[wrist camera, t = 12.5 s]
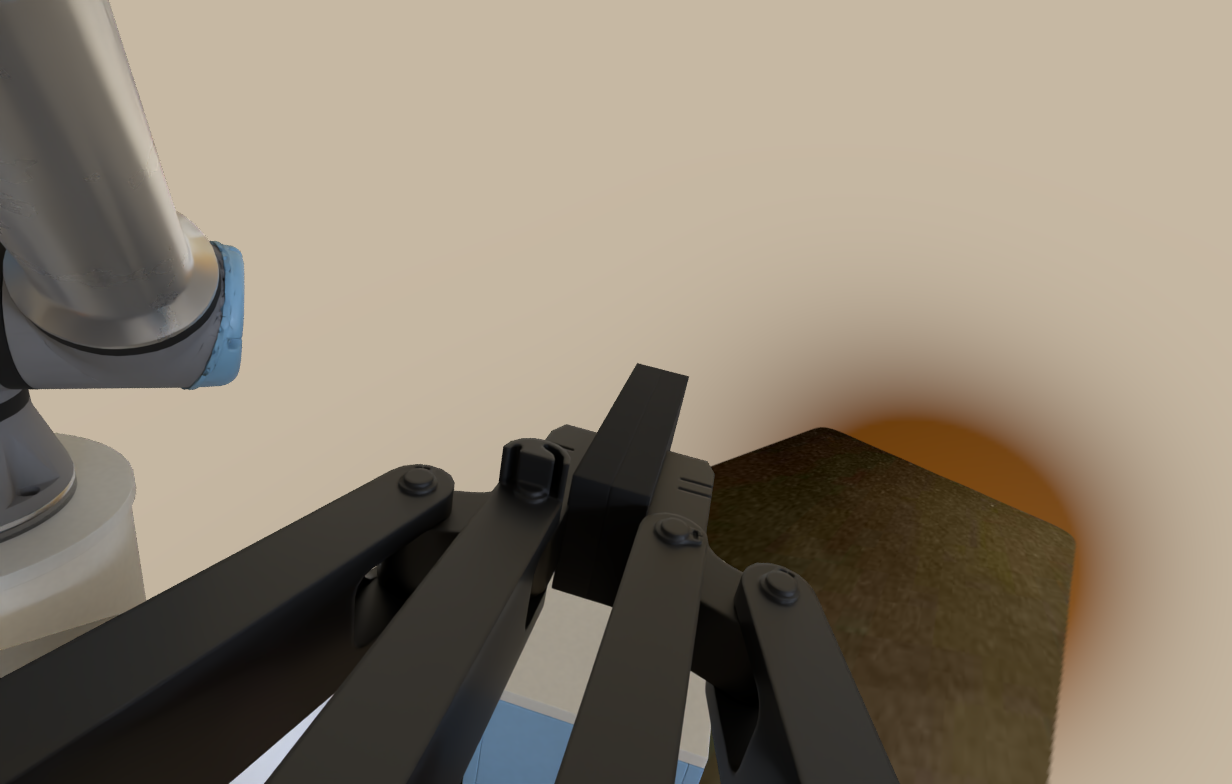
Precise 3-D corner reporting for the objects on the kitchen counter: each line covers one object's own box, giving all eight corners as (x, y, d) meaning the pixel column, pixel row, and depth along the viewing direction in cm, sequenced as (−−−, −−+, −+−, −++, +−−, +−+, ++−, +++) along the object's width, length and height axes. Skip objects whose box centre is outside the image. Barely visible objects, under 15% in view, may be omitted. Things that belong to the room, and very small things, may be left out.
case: (545, 611, 51) (560, 529, 47) (695, 658, 49) (721, 577, 46) (460, 791, 36) (474, 692, 33) (668, 866, 35) (704, 769, 31)
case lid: (563, 522, 48) (565, 514, 48) (722, 569, 46) (725, 561, 46) (474, 691, 33) (475, 680, 33) (704, 769, 31) (708, 758, 31)
